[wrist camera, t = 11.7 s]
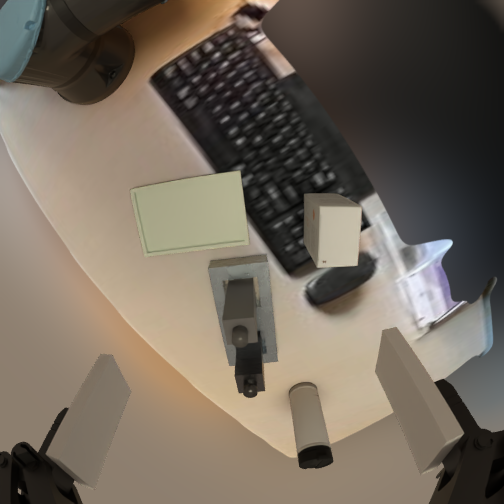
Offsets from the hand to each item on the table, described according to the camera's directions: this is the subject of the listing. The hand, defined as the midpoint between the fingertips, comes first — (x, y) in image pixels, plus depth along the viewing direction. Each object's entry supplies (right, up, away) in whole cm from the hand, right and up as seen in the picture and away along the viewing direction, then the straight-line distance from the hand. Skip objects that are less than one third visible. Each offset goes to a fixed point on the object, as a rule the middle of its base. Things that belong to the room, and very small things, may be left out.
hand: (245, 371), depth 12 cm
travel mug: (+12, -25, +45) cm, 52 cm away
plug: (-1, 0, +34) cm, 34 cm away
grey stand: (-1, -5, +37) cm, 37 cm away
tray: (-9, +11, +31) cm, 34 cm away
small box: (+11, +11, +31) cm, 35 cm away
